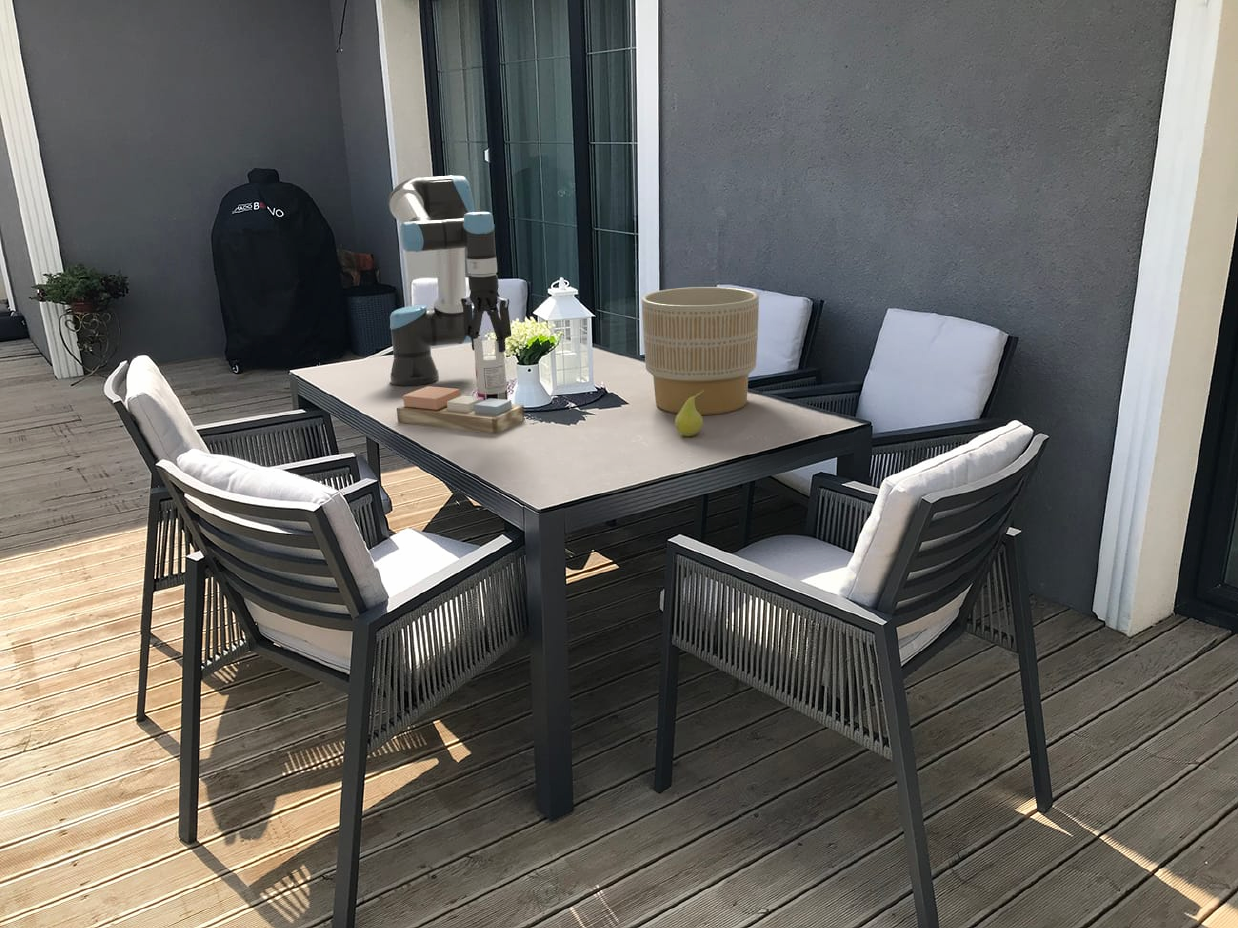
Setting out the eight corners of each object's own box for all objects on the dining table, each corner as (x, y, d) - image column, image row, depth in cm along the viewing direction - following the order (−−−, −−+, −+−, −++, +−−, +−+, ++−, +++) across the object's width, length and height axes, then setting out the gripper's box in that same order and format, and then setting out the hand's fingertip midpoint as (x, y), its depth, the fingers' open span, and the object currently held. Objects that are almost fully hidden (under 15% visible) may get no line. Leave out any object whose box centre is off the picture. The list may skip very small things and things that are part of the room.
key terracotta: (429, 401, 282) (427, 386, 280) (461, 404, 277) (459, 389, 276) (404, 411, 273) (403, 395, 271) (437, 415, 268) (435, 399, 266)
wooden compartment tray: (429, 409, 285) (427, 395, 283) (524, 419, 271) (523, 405, 269) (398, 422, 273) (396, 408, 272) (495, 433, 259) (494, 419, 258)
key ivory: (463, 411, 275) (462, 395, 273) (484, 413, 272) (483, 397, 270) (448, 417, 269) (446, 401, 267) (469, 420, 266) (468, 404, 264)
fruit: (675, 432, 255) (674, 386, 251) (704, 431, 254) (704, 385, 250) (675, 439, 248) (675, 393, 244) (706, 439, 248) (705, 392, 244)
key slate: (490, 414, 271) (489, 398, 269) (512, 416, 268) (511, 400, 266) (476, 421, 265) (474, 404, 264) (498, 423, 262) (496, 406, 260)
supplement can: (474, 412, 280) (469, 360, 275) (487, 404, 287) (483, 353, 282) (500, 414, 277) (495, 361, 272) (513, 406, 284) (509, 355, 279)
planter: (655, 388, 297) (652, 287, 288) (761, 390, 291) (762, 286, 281) (635, 418, 268) (631, 306, 259) (753, 420, 262) (754, 305, 252)
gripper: (444, 275, 255) (452, 364, 263) (505, 278, 247) (512, 369, 254) (461, 271, 261) (468, 358, 269) (521, 273, 253) (527, 362, 261)
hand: (489, 363), depth 262 cm, fingers open, 6 cm apart
